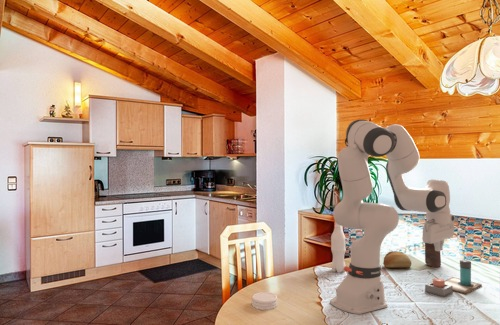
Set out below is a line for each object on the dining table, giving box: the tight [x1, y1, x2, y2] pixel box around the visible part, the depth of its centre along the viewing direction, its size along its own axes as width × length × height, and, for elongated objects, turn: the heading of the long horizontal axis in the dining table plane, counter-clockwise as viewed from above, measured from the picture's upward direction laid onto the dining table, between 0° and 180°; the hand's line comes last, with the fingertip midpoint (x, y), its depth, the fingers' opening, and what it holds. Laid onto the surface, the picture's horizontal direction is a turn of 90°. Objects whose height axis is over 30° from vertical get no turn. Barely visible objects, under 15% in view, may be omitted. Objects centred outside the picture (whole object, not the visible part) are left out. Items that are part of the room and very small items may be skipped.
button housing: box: [424, 280, 454, 298], centre depth 146 cm, size 8×8×3 cm
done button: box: [432, 278, 445, 288], centre depth 146 cm, size 4×4×3 cm
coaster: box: [251, 291, 278, 311], centre depth 135 cm, size 10×10×4 cm
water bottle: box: [330, 222, 347, 274], centre depth 175 cm, size 7×7×25 cm
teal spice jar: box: [459, 259, 472, 286], centre depth 152 cm, size 4×4×10 cm
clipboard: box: [444, 276, 483, 295], centre depth 153 cm, size 16×12×1 cm
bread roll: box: [382, 250, 412, 269], centre depth 181 cm, size 10×15×8 cm, turn 100°
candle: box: [424, 243, 442, 268], centre depth 183 cm, size 8×7×20 cm
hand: (438, 250), depth 146 cm, fingers closed
